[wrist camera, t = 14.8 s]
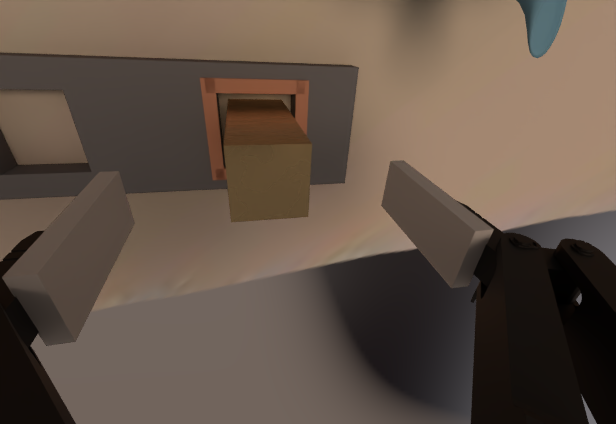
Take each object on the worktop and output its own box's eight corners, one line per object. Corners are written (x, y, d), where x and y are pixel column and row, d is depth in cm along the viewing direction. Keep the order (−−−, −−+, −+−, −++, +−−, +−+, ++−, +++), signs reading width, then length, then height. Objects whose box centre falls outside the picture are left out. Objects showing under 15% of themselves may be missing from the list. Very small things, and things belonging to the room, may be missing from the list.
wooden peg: (232, 150, 27) (231, 222, 17) (228, 99, 24) (223, 145, 14) (281, 149, 28) (308, 216, 17) (281, 99, 25) (312, 143, 15)
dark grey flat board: (-45, 190, 24) (-70, 204, 22) (-135, 47, 19) (-178, 49, 17) (338, 174, 30) (345, 184, 28) (350, 65, 25) (360, 68, 23)
